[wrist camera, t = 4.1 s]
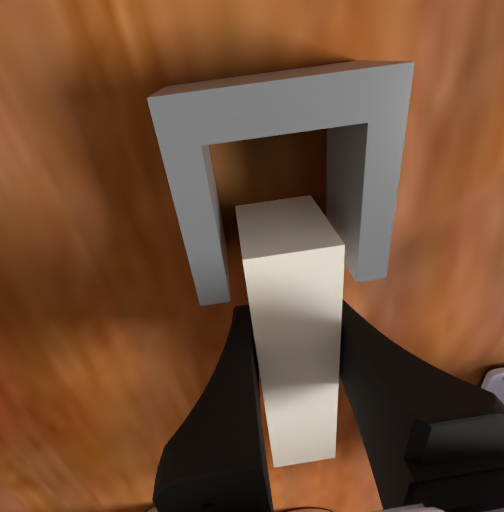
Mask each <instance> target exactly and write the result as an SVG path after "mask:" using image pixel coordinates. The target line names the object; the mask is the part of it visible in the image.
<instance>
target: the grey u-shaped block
mask: <svg viewBox="0 0 504 512" xmlns="http://www.w3.org/2000/svg"><path fill="white" fill-rule="evenodd" d="M414 63H415V62H408V61H366V60H357V61H349V62H342V63H334V64H327V65H319V66H312V67H304V68H297V69H289V70H282V71H275V72H267V73H260V74H252V75H245V76H237V77H230V78H222V79H215V80H207V81H200V82H192V83H185V84H177V85H170V86H165V87H164V88H162V89H160V90H159V91H157V92H155V93H154V94H152V95H150V96H149V97H147V101H148V105H149V109H150V113H151V116H152V120H153V124H154V128H155V132H156V136H157V140H158V144H159V148H160V151H161V155H162V159H163V163H164V167H165V171H166V175H167V179H168V183H169V186H170V190H171V194H172V198H173V202H174V206H175V210H176V214H177V218H178V221H179V225H180V229H181V233H182V237H183V241H184V245H185V249H186V253H187V256H188V260H189V264H190V268H191V272H192V276H193V280H194V284H195V288H196V291H197V295H198V299H199V303H200V306H205V305H212V304H218V303H225V302H231V300H230V284H229V269H228V253H227V244H226V239H225V233H224V228H223V222H222V216H221V211H220V205H219V199H218V194H217V188H216V183H215V177H214V171H213V166H212V160H211V154H210V149H209V145H211V144H218V143H225V142H232V141H239V140H247V139H254V138H261V137H268V136H276V135H283V134H290V133H297V132H304V131H312V130H319V129H326V128H327V157H326V218H327V220H328V221H329V222H330V224H331V225H332V227H333V228H334V230H335V231H336V233H337V234H338V235H339V237H340V238H341V240H342V241H343V243H344V244H345V256H344V264H345V265H346V267H347V268H348V270H349V272H350V273H351V275H352V276H353V278H354V280H355V281H356V283H358V282H364V281H371V280H378V279H384V278H386V275H387V267H388V259H389V252H390V244H391V237H392V229H393V222H394V214H395V207H396V199H397V192H398V184H399V176H400V169H401V161H402V154H403V146H404V139H405V131H406V124H407V116H408V109H409V101H410V93H411V86H412V78H413V71H414Z"/></svg>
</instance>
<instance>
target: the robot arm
mask: <svg viewBox="0 0 504 512" xmlns="http://www.w3.org/2000/svg"><path fill="white" fill-rule="evenodd" d="M339 378H340V380H341V382H342V385H343V387H344V389H345V391H346V394H347V396H348V398H349V401H350V403H351V406H352V409H353V412H354V415H355V418H356V421H357V424H358V427H359V430H360V433H361V436H362V439H363V443H364V446H365V449H366V452H367V455H368V459H369V462H370V465H371V469H372V472H373V475H374V479H375V482H376V485H377V489H378V493H379V496H380V500H381V503H382V507H383V510H380V511H374V512H504V368H497V369H493V370H491V371H489V372H488V373H487V374H486V376H485V379H484V381H483V383H482V386H481V388H480V387H477V386H475V385H473V384H470V383H468V382H465V381H463V380H461V379H459V378H456V377H454V376H452V375H450V374H448V373H446V372H444V371H442V370H440V369H438V368H436V367H434V366H432V365H430V364H429V363H427V362H425V361H423V360H421V359H420V358H418V357H416V356H414V355H413V354H411V353H409V352H408V351H406V350H405V349H403V348H402V347H400V346H399V345H397V344H396V343H394V342H393V341H391V340H390V339H389V338H387V337H386V336H385V335H383V334H382V333H381V332H379V331H378V330H377V329H376V328H374V327H373V326H372V325H371V324H370V323H368V322H367V321H366V320H365V319H364V318H363V317H361V316H360V315H359V314H358V313H357V312H356V311H355V310H354V309H353V308H351V307H350V306H349V305H348V304H347V303H346V302H345V301H344V300H343V299H342V320H341V342H340V364H339ZM153 503H154V506H155V508H156V509H157V511H158V512H274V511H273V504H272V496H271V489H270V481H269V474H268V467H267V459H266V452H265V444H264V437H263V429H262V421H261V410H260V388H259V366H258V359H257V352H256V346H255V339H254V333H253V326H252V320H251V313H250V306H249V305H243V306H237V307H235V308H234V311H233V318H232V323H231V327H230V331H229V334H228V337H227V341H226V344H225V347H224V349H223V352H222V354H221V357H220V359H219V362H218V364H217V366H216V368H215V371H214V373H213V375H212V377H211V379H210V381H209V383H208V384H207V386H206V388H205V390H204V391H203V393H202V395H201V397H200V398H199V400H198V402H197V403H196V405H195V406H194V408H193V409H192V411H191V412H190V413H189V415H188V416H187V418H186V419H185V421H184V422H183V424H182V425H181V426H180V428H179V429H178V430H177V431H176V433H175V434H174V435H173V436H172V438H171V439H170V440H169V441H168V443H167V444H166V445H165V447H164V450H163V453H162V456H161V459H160V462H159V466H158V470H157V474H156V479H155V485H154V493H153Z"/></svg>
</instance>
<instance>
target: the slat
mask: <svg viewBox="0 0 504 512" xmlns="http://www.w3.org/2000/svg"><path fill="white" fill-rule="evenodd" d="M235 209H236V216H237V224H238V231H239V238H240V246H241V253H242V260H243V267H244V274H245V280H246V287H247V293H248V300H249V306H250V313H251V320H252V326H253V333H254V339H255V346H256V352H257V359H258V366H259V372H260V379H261V385H262V392H263V398H264V405H265V412H266V418H267V425H268V431H269V438H270V444H271V451H272V458H273V464H274V468H275V467H281V466H287V465H293V464H299V463H306V462H312V461H318V460H324V459H330V458H335V450H336V429H337V407H338V385H339V364H340V342H341V320H342V299H343V277H344V256H345V244H344V243H343V241H342V240H341V238H340V237H339V235H338V234H337V233H336V231H335V230H334V228H333V227H332V225H331V224H330V222H329V221H328V220H327V218H326V217H325V215H324V214H323V212H322V211H321V209H320V208H319V207H318V205H317V204H316V202H315V201H314V199H313V198H312V196H311V195H308V196H301V197H294V198H287V199H280V200H273V201H266V202H259V203H252V204H245V205H238V206H235Z"/></svg>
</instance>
